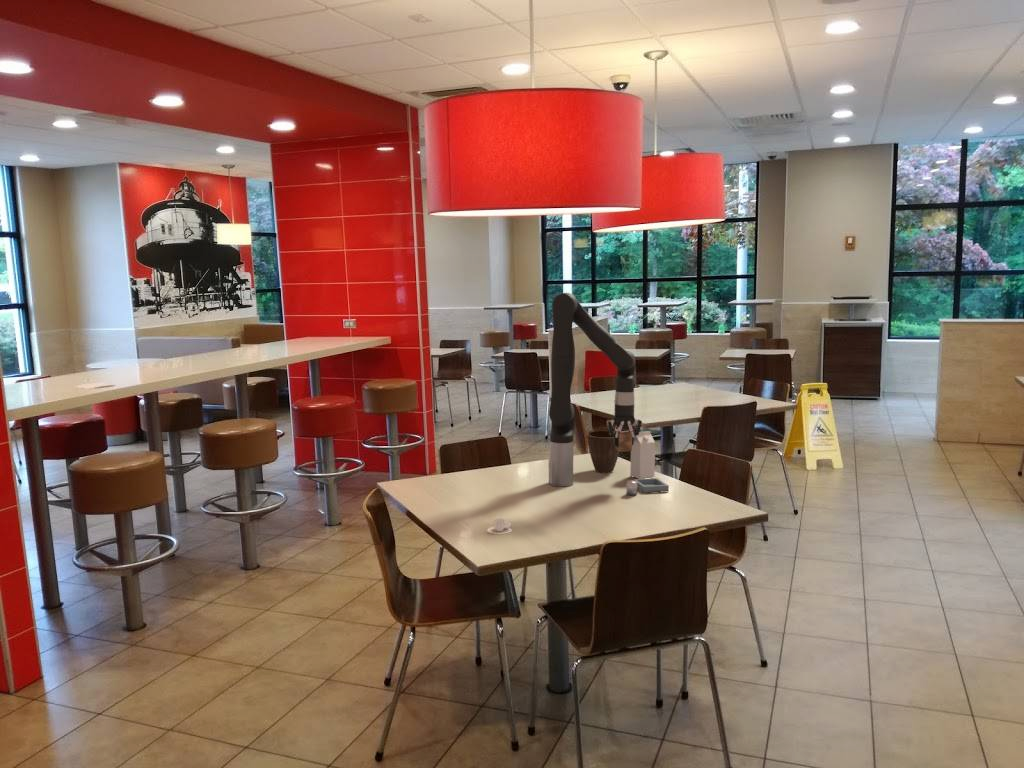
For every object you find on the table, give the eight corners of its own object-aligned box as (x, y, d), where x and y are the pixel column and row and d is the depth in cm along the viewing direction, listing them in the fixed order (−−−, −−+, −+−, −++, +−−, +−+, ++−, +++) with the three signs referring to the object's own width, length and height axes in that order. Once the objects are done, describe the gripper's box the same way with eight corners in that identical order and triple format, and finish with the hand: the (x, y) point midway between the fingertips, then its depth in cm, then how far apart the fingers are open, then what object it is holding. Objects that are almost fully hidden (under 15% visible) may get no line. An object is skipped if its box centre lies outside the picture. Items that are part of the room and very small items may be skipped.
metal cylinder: (628, 496, 308) (628, 483, 308) (625, 493, 312) (625, 480, 311) (638, 495, 309) (638, 482, 308) (635, 493, 313) (635, 480, 312)
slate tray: (643, 493, 312) (643, 486, 312) (633, 485, 324) (633, 479, 324) (668, 491, 314) (668, 485, 314) (657, 484, 326) (657, 478, 326)
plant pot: (619, 476, 340) (620, 437, 338) (584, 474, 343) (584, 436, 341) (623, 468, 354) (624, 431, 352) (589, 466, 358) (589, 430, 356)
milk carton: (630, 476, 339) (630, 431, 337) (644, 474, 342) (645, 429, 340) (639, 480, 333) (640, 434, 330) (654, 478, 336) (655, 432, 333)
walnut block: (619, 451, 316) (619, 433, 316) (615, 449, 321) (615, 431, 320) (631, 451, 317) (632, 433, 316) (627, 448, 322) (627, 430, 321)
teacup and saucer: (506, 526, 272) (506, 514, 272) (518, 532, 265) (518, 520, 265) (483, 530, 268) (483, 517, 268) (494, 536, 261) (494, 524, 261)
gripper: (609, 405, 312) (608, 449, 314) (645, 404, 315) (644, 447, 317) (603, 402, 319) (603, 445, 321) (639, 401, 322) (638, 444, 324)
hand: (623, 446), depth 319 cm, fingers closed on walnut block, 5 cm apart
